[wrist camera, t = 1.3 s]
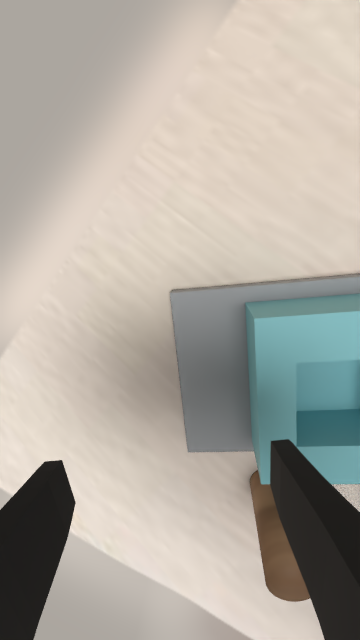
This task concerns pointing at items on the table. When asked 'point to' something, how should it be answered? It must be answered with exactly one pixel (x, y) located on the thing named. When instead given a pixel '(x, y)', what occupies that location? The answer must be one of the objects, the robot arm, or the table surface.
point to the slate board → (228, 354)
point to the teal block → (306, 381)
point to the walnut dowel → (275, 546)
